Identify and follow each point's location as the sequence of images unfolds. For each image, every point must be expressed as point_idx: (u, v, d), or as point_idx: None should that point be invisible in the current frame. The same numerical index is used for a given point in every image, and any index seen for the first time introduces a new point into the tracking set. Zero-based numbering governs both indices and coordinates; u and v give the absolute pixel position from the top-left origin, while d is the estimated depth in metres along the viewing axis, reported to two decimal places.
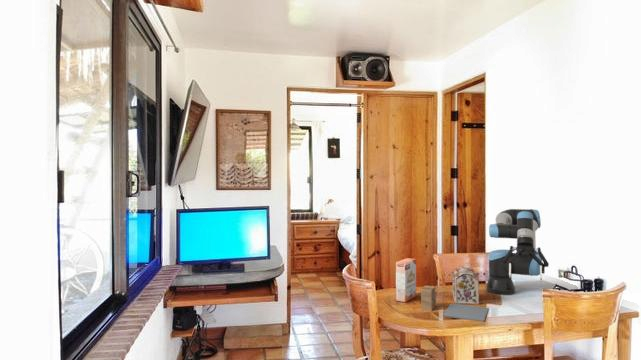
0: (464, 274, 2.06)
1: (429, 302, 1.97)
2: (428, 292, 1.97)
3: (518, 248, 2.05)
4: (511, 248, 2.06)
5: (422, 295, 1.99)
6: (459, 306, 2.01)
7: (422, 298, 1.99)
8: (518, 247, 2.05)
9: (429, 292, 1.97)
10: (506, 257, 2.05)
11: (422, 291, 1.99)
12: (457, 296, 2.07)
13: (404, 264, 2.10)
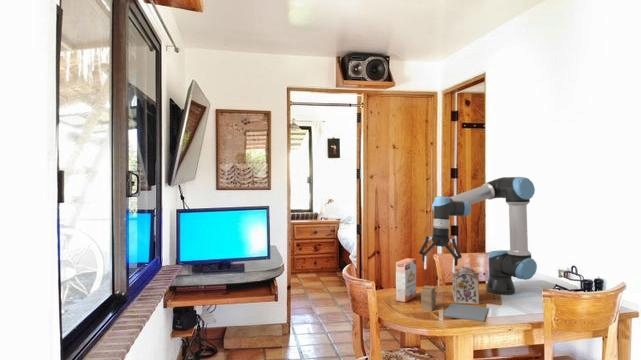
0: (464, 274, 2.06)
1: (429, 302, 1.97)
2: (428, 292, 1.97)
3: (433, 239, 1.99)
4: (427, 239, 2.01)
5: (422, 295, 1.99)
6: (459, 306, 2.01)
7: (422, 298, 1.99)
8: (433, 238, 1.99)
9: (429, 292, 1.97)
10: (422, 249, 2.02)
11: (422, 291, 1.99)
12: (457, 296, 2.07)
13: (404, 264, 2.10)
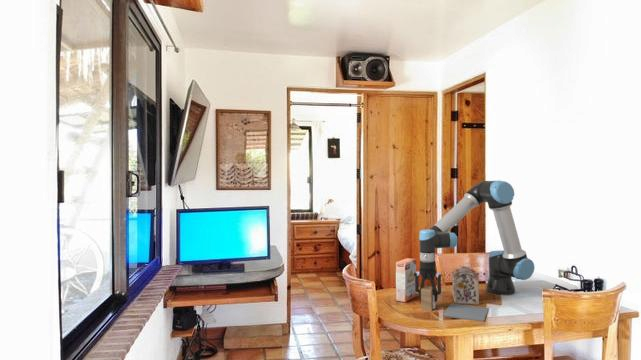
0: (464, 274, 2.06)
1: (429, 302, 1.97)
2: (428, 291, 1.97)
3: (421, 272, 2.02)
4: (415, 275, 2.03)
5: (422, 295, 1.99)
6: (459, 306, 2.01)
7: (422, 298, 1.99)
8: (420, 271, 2.02)
9: (429, 292, 1.97)
10: (416, 286, 2.03)
11: (422, 291, 1.99)
12: (457, 296, 2.07)
13: (404, 264, 2.10)
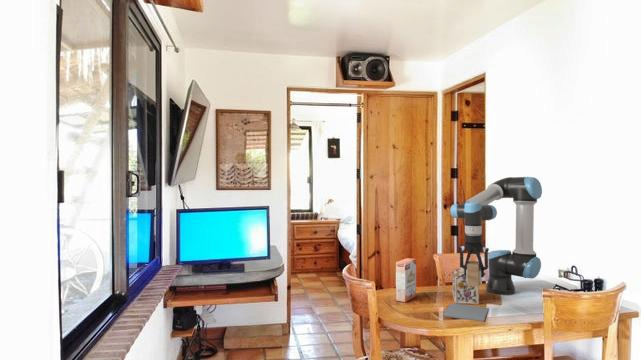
0: None
1: (476, 278, 1.87)
2: (475, 266, 1.87)
3: (466, 247, 1.92)
4: (460, 250, 1.93)
5: (468, 270, 1.88)
6: (459, 306, 2.01)
7: (468, 273, 1.88)
8: (466, 245, 1.92)
9: (476, 267, 1.87)
10: (461, 262, 1.93)
11: (468, 266, 1.88)
12: (457, 296, 2.07)
13: (404, 264, 2.10)
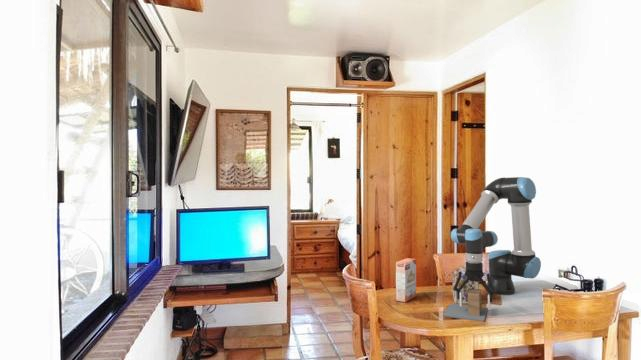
0: (464, 274, 2.06)
1: (477, 307, 1.87)
2: (476, 296, 1.87)
3: (467, 274, 1.92)
4: (460, 274, 1.93)
5: (469, 299, 1.88)
6: (459, 306, 2.01)
7: (469, 302, 1.88)
8: (467, 273, 1.92)
9: (477, 296, 1.87)
10: (456, 285, 1.94)
11: (469, 295, 1.88)
12: None
13: (404, 264, 2.10)
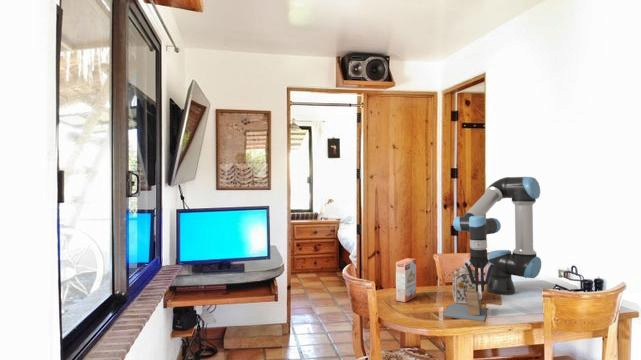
0: (464, 274, 2.06)
1: (476, 306, 1.87)
2: (474, 295, 1.87)
3: (472, 261, 1.91)
4: (467, 265, 1.92)
5: (467, 299, 1.89)
6: (459, 306, 2.01)
7: (468, 302, 1.89)
8: (471, 260, 1.91)
9: (475, 295, 1.87)
10: (471, 277, 1.91)
11: (467, 295, 1.89)
12: (457, 296, 2.07)
13: (404, 264, 2.10)
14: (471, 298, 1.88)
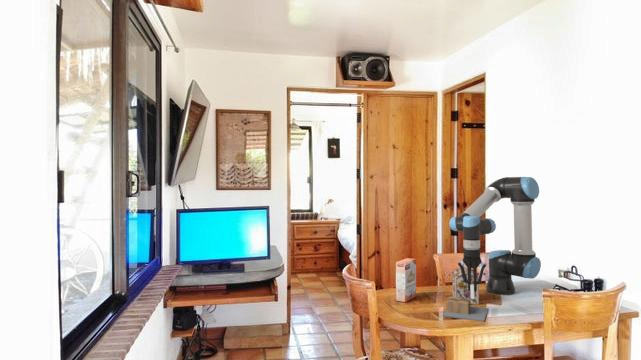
0: None
1: (459, 304, 1.91)
2: (447, 303, 1.93)
3: (465, 260, 1.92)
4: (460, 265, 1.93)
5: (452, 311, 1.92)
6: None
7: (455, 311, 1.91)
8: (464, 260, 1.92)
9: (448, 303, 1.93)
10: (464, 277, 1.92)
11: (448, 310, 1.93)
12: (457, 296, 2.07)
13: (404, 264, 2.10)
14: (451, 307, 1.92)
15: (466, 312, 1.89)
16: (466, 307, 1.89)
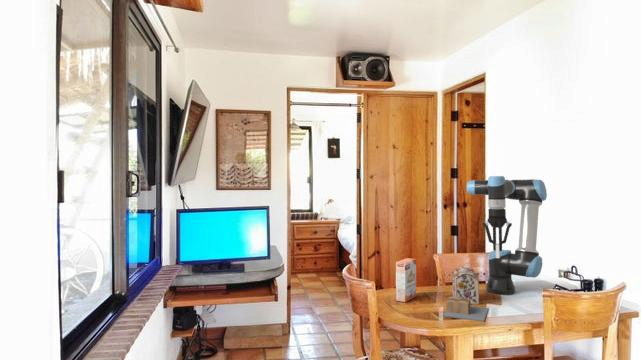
0: (464, 274, 2.06)
1: (459, 304, 1.91)
2: (447, 303, 1.93)
3: (490, 220, 1.92)
4: (485, 225, 1.93)
5: (452, 311, 1.92)
6: None
7: (455, 311, 1.91)
8: (489, 219, 1.93)
9: (448, 303, 1.93)
10: (489, 237, 1.93)
11: (448, 310, 1.93)
12: (457, 296, 2.07)
13: (404, 264, 2.10)
14: (451, 307, 1.92)
15: (466, 312, 1.89)
16: (466, 307, 1.89)
